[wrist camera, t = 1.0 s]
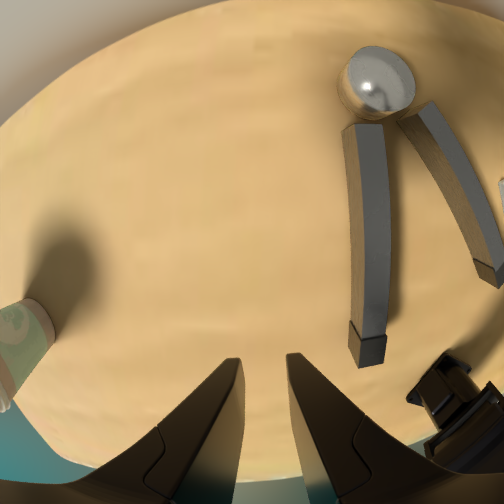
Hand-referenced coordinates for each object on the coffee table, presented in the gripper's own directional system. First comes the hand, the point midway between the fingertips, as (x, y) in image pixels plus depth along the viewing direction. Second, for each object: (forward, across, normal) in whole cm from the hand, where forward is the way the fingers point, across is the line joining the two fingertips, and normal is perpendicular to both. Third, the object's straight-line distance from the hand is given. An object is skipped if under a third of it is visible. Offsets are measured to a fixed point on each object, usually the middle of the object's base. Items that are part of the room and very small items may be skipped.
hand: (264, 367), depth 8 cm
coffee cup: (+12, +25, +5) cm, 28 cm away
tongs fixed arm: (+12, -16, -3) cm, 20 cm away
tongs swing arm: (+12, -8, -3) cm, 14 cm away
